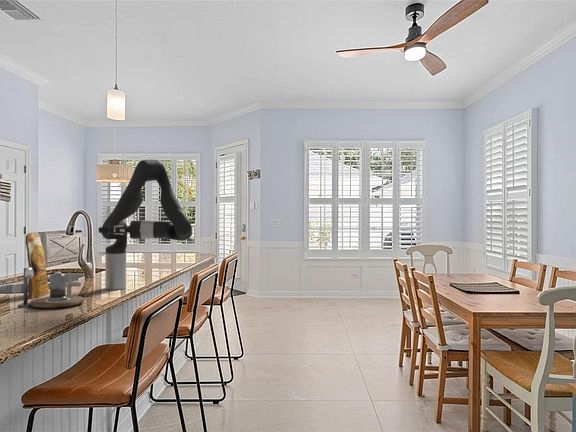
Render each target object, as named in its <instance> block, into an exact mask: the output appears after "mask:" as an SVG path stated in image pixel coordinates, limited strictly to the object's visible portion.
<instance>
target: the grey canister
mask: <svg viewBox="0 0 576 432" xmlns="http://www.w3.org/2000/svg"><path fill="white" fill-rule="evenodd" d="M66 282H67V273H62V271H54V273H53V274H50V275H49V296H47V297H48V301H52V302H55V301H64V300H68V296H67V287H66Z"/></svg>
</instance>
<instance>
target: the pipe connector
mask: <svg viewBox="0 0 576 432" xmlns="http://www.w3.org/2000/svg"><path fill="white" fill-rule="evenodd" d="M72 275H73V273H72V272H67V273H66V295H67V296H72V287H81V286H82V282H78V280H72V279H73V278H72Z"/></svg>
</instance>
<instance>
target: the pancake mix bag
mask: <svg viewBox="0 0 576 432" xmlns="http://www.w3.org/2000/svg"><path fill="white" fill-rule="evenodd" d="M40 235H41V234H40V232H28V233H27V234H26V235H25V246H26V247H25V248H26V251H27V262H28V268H33V277H32V279H28V299H38V298H42V297H43V296H46V295H48V294H50V285H49V281H48V277H47V267H46V258H45V252H44V248H43V243H42V241H41V240H42V239H41V236H40Z"/></svg>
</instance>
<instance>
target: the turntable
mask: <svg viewBox="0 0 576 432" xmlns="http://www.w3.org/2000/svg"><path fill="white" fill-rule="evenodd" d="M48 297H49V296H45V297H38V298H33V299H32V300H30V301H29V303H30V306H31V308H38V309H58V308H65V307H66V308H67V307H72V306H76V305H80V304H82V303H84V299H85V298H84V297H83V296H80V295H71V296H68V300H64V301H55V302H52V301H48Z"/></svg>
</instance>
